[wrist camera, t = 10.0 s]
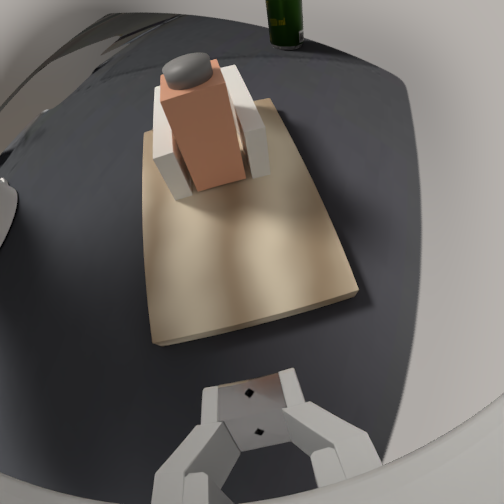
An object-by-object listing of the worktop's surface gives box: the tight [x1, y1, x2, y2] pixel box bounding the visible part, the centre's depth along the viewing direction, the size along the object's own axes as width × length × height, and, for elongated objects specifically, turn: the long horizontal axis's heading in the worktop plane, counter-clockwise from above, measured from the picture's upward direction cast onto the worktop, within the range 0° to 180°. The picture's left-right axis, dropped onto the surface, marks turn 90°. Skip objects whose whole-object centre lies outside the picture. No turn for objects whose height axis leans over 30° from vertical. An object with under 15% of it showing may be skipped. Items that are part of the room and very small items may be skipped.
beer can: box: [266, 0, 304, 50], centre depth 32 cm, size 5×5×12 cm
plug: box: [160, 53, 246, 192], centre depth 19 cm, size 4×4×10 cm
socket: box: [153, 65, 271, 201], centre depth 23 cm, size 8×11×5 cm
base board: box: [142, 98, 359, 346], centre depth 24 cm, size 14×22×2 cm, turn 13°
